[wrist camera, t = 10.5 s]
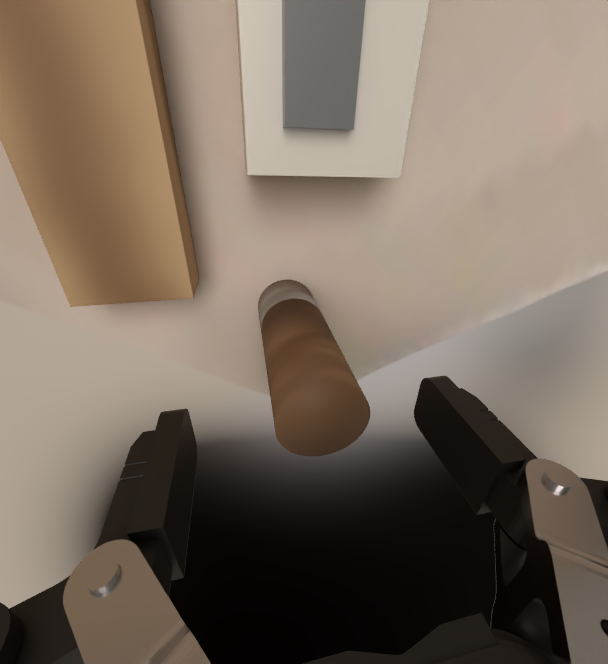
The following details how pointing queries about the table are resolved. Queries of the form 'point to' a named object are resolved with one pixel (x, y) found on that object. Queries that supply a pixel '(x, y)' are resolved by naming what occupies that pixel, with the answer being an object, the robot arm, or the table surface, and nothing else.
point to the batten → (96, 147)
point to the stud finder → (328, 84)
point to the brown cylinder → (308, 375)
